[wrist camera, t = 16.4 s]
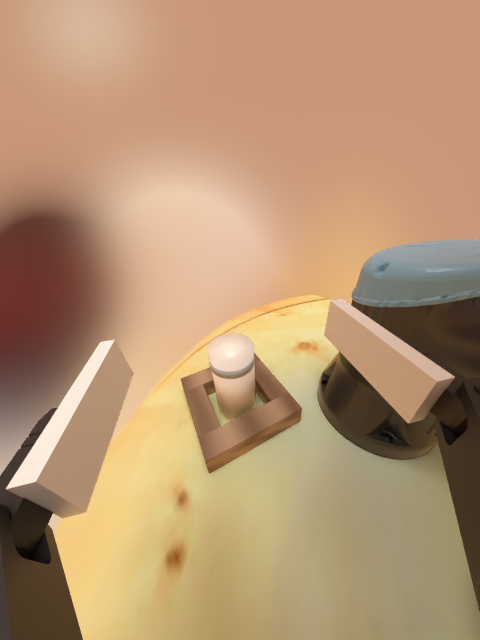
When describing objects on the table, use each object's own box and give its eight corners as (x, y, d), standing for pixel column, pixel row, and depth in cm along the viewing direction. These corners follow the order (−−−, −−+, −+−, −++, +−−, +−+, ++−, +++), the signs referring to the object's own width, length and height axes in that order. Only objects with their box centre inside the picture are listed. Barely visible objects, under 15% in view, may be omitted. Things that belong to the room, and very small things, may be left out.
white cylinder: (245, 383, 35) (241, 328, 29) (263, 411, 31) (263, 352, 24) (213, 398, 33) (201, 341, 27) (227, 429, 28) (216, 370, 22)
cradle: (253, 362, 40) (252, 350, 38) (299, 420, 29) (302, 408, 27) (184, 390, 35) (180, 378, 33) (209, 473, 24) (205, 461, 22)
